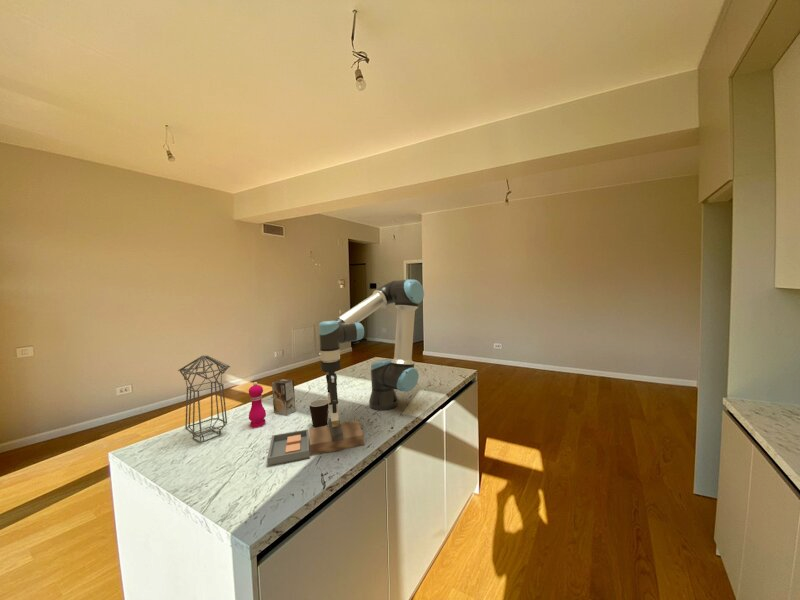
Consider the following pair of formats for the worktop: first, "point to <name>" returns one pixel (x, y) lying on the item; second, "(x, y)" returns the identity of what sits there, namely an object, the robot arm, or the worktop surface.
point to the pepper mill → (256, 406)
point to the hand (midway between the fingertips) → (333, 414)
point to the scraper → (335, 430)
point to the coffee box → (283, 396)
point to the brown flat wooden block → (323, 441)
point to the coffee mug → (319, 412)
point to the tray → (279, 448)
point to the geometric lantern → (202, 390)
